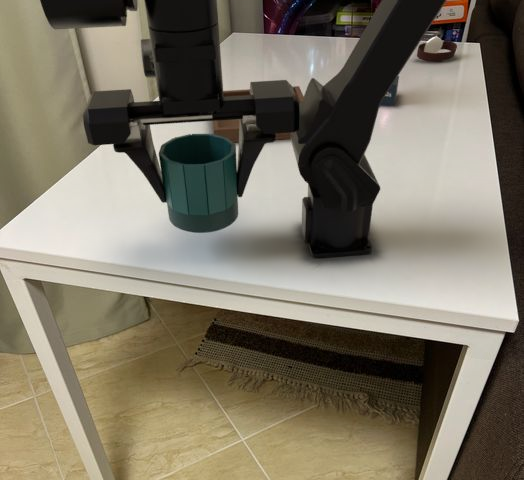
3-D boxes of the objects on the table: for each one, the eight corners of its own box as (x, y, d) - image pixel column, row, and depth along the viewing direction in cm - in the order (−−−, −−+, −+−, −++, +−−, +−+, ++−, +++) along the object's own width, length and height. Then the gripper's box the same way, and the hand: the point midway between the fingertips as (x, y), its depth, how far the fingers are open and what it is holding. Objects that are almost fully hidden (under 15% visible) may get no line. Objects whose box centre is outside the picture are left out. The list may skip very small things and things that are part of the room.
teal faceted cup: (219, 191, 60) (250, 220, 56) (158, 208, 58) (186, 240, 53) (214, 128, 56) (248, 154, 51) (148, 143, 53) (177, 172, 49)
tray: (298, 98, 91) (299, 86, 90) (314, 137, 80) (315, 123, 78) (211, 104, 90) (209, 91, 89) (214, 143, 79) (213, 130, 77)
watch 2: (447, 53, 106) (451, 32, 104) (460, 60, 103) (464, 38, 101) (411, 57, 105) (414, 36, 103) (422, 64, 102) (426, 43, 99)
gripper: (284, -5, 51) (283, 157, 62) (80, 5, 50) (116, 168, 61) (302, 26, 43) (298, 206, 54) (60, 40, 42) (106, 220, 53)
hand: (202, 197), depth 55 cm, fingers closed on teal faceted cup, 7 cm apart
